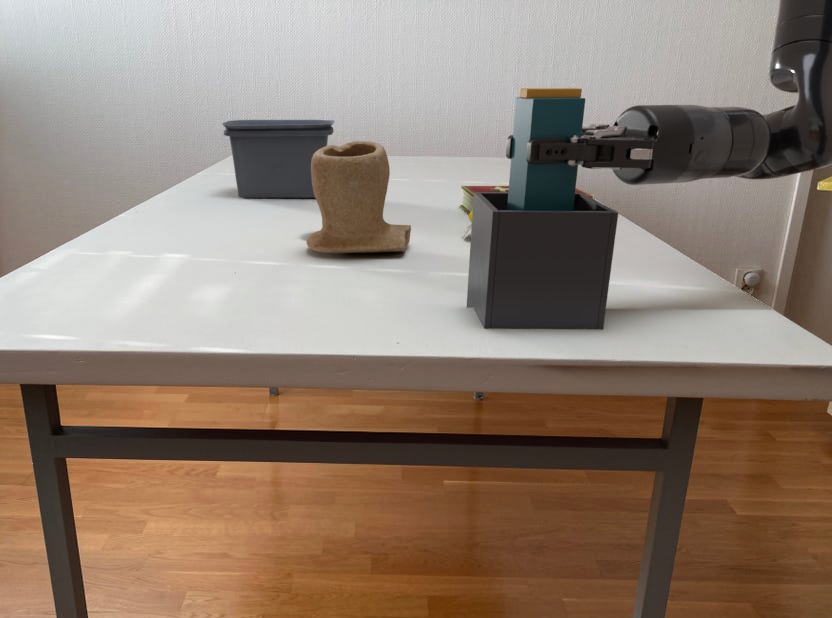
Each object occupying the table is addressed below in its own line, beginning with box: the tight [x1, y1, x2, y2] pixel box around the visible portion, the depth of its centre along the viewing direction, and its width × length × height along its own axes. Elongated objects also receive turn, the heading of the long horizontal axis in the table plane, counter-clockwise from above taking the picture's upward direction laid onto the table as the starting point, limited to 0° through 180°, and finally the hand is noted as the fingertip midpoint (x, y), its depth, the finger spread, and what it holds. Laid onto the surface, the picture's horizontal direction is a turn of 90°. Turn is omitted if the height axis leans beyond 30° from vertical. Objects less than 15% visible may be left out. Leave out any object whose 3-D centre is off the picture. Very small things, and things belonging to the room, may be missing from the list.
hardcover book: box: [459, 185, 596, 216], centre depth 139 cm, size 12×21×4 cm, turn 94°
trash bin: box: [465, 192, 619, 331], centre depth 76 cm, size 11×11×13 cm
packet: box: [507, 87, 586, 211], centre depth 73 cm, size 6×3×12 cm, turn 110°
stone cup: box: [305, 140, 412, 254], centre depth 106 cm, size 15×12×15 cm
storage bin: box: [221, 119, 335, 199], centre depth 154 cm, size 21×16×14 cm
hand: (519, 149), depth 72 cm, fingers closed on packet, 3 cm apart
